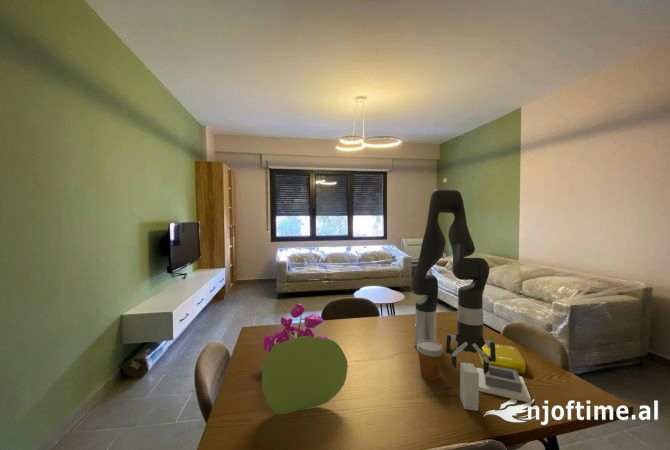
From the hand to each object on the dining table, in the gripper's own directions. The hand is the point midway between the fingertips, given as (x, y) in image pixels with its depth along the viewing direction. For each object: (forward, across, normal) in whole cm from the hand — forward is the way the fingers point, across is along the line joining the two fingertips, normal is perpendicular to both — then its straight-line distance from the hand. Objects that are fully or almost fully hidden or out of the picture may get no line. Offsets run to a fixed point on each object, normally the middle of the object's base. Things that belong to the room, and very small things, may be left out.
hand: (469, 369), depth 88 cm
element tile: (+12, +13, +34) cm, 38 cm away
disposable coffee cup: (+12, -13, +11) cm, 21 cm away
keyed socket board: (+11, +11, +15) cm, 22 cm away
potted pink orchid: (+12, -58, -9) cm, 60 cm away
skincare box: (+12, 0, 0) cm, 12 cm away
